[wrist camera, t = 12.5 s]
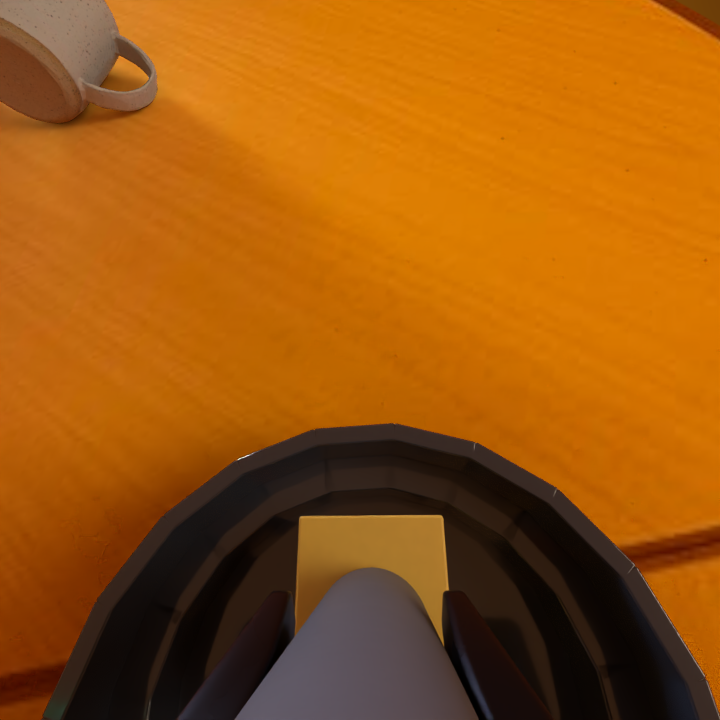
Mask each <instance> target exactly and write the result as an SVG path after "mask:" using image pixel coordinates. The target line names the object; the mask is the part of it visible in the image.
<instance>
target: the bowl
mask: <svg viewBox="0 0 720 720" xmlns="http://www.w3.org/2000/svg"><path fill="white" fill-rule="evenodd" d="M359 515H441V516H442V517H443V521H444V534H445V547H446V560H447V573H448V586H449V590H460V591H463V592H464V593H465V594H466V595H467V597H468V598H469V600H470V601H471V602H472V604H473V605H474V607H475V608H476V609H477V611H478V612H479V614H480V615H481V617H482V618H483V619H484V621H485V622H486V624H487V625H488V626H489V628H490V629H491V631H492V632H493V633H494V635H495V636H496V638H497V639H498V641H499V642H500V643H501V645H502V646H503V648H504V649H505V650H506V652H507V653H508V655H509V656H510V657H511V659H512V660H513V662H514V663H515V665H516V666H517V667H518V669H519V670H520V672H521V673H522V674H523V676H524V677H525V679H526V680H527V681H528V683H529V684H530V686H531V687H532V688H533V690H534V691H535V693H536V694H537V696H538V697H539V698H540V700H541V701H542V703H543V704H544V705H545V707H546V708H547V710H548V711H549V712H550V714H551V715H552V717H553V718H554V720H720V714H719V711H718V709H717V706H716V703H715V700H714V697H713V694H712V692H711V689H710V686H709V683H708V681H707V680H706V679H705V678H706V677H705V674H704V673H703V671H702V670H701V668H700V666H699V665H698V663H697V662H696V660H695V659H694V657H693V655H692V654H691V652H690V651H689V649H688V647H687V646H686V644H685V643H684V641H683V639H682V638H681V636H680V635H679V633H678V631H677V630H676V628H675V627H674V625H673V623H672V622H671V620H670V619H669V617H668V615H667V614H666V612H665V611H664V609H663V607H662V606H661V604H660V603H659V601H658V599H657V598H656V596H655V595H654V593H653V591H652V590H651V588H650V587H649V585H648V583H647V582H646V580H645V579H644V577H643V576H642V574H641V572H640V571H639V569H638V568H637V567H635V564H634V563H633V562H632V561H631V560H630V559H629V558H628V557H627V556H626V555H625V554H624V553H623V552H622V551H621V550H620V549H619V548H618V547H617V546H616V545H615V544H614V543H613V542H612V541H611V540H610V539H609V538H608V537H607V536H606V535H605V534H604V533H603V532H602V531H601V530H599V529H598V528H597V527H596V526H595V525H594V524H593V523H592V522H591V521H590V520H589V519H588V518H587V517H586V516H585V515H584V514H583V513H582V512H581V511H580V510H579V509H578V508H577V507H576V506H575V505H574V504H573V503H572V502H571V501H570V500H569V499H568V498H567V497H566V496H565V495H564V494H563V493H562V492H561V491H560V490H557V488H556V487H554V486H553V485H551V484H549V483H547V482H546V481H544V480H542V479H540V478H539V477H537V476H535V475H533V474H531V473H530V472H528V471H526V470H524V469H523V468H521V467H519V466H517V465H516V464H514V463H512V462H510V461H509V460H507V459H505V458H503V457H502V456H500V455H498V454H496V453H495V452H493V451H491V450H489V449H487V448H486V447H484V446H482V445H480V444H479V443H475V442H473V441H468V440H464V439H460V438H456V437H451V436H447V435H443V434H439V433H434V432H430V431H426V430H422V429H417V428H413V427H409V426H405V425H400V424H395V425H394V424H393V423H389V424H375V425H361V426H347V427H333V428H319V429H315V430H310V431H307V432H305V433H302V434H300V435H297V436H295V437H292V438H290V439H287V440H284V441H282V442H279V443H277V444H274V445H272V446H269V447H267V448H264V449H261V450H259V451H256V452H254V453H251V454H249V455H246V456H243V457H241V458H238V459H237V460H235V461H234V462H232V463H231V464H230V465H228V466H227V467H226V468H224V469H223V470H222V471H220V472H219V473H218V474H217V475H215V476H214V477H213V478H211V479H210V480H209V481H207V482H206V483H205V484H203V485H202V486H201V487H200V488H198V489H197V490H196V491H194V492H193V493H192V494H190V495H189V496H188V497H186V498H185V499H184V500H183V501H181V502H180V503H179V504H177V505H176V506H175V507H173V508H172V509H171V510H169V511H168V512H167V513H166V514H164V516H162V517H161V518H160V519H159V521H158V522H157V523H156V524H155V526H154V527H153V528H152V530H151V531H150V532H149V533H148V535H147V536H146V537H145V538H144V540H143V541H142V542H141V544H140V545H139V546H138V547H137V549H136V550H135V551H134V553H133V554H132V555H131V556H130V558H129V559H128V560H127V561H126V563H125V564H124V565H123V567H122V568H121V569H120V570H119V572H118V573H117V574H116V575H115V577H114V578H113V579H112V581H111V582H110V583H109V584H108V586H107V587H106V588H105V590H104V591H103V592H102V593H101V595H100V596H99V597H98V598H97V601H96V602H95V604H94V606H93V608H92V610H91V612H90V615H89V617H88V619H87V621H86V623H85V625H84V627H83V630H82V632H81V634H80V636H79V638H78V640H77V642H76V645H75V647H74V649H73V651H72V653H71V655H70V657H69V660H68V662H67V664H66V666H65V668H64V670H63V672H62V675H61V677H60V679H59V681H58V683H57V685H56V687H55V690H54V692H53V694H52V696H51V698H50V700H49V703H48V705H47V707H46V709H45V711H44V713H43V718H42V719H41V720H176V718H177V717H178V716H179V714H180V713H181V712H182V710H183V709H184V708H185V706H186V705H187V704H188V702H189V701H190V700H191V698H192V697H193V696H194V694H195V693H196V692H197V690H198V689H199V688H200V686H201V685H202V684H203V682H204V681H205V680H206V678H207V677H208V676H209V674H210V673H211V672H212V670H213V669H214V668H215V666H216V665H217V664H218V662H219V661H220V660H221V658H222V657H223V656H224V654H225V653H226V652H227V650H228V649H229V648H230V646H231V645H232V644H233V642H234V641H235V640H236V638H237V637H238V636H239V634H240V633H241V632H242V630H243V629H244V628H245V626H246V625H247V624H248V622H249V621H250V620H251V618H252V617H253V616H254V614H255V613H256V612H257V610H258V609H259V608H260V606H261V605H262V604H263V602H264V601H265V600H266V598H267V597H268V596H269V594H270V593H271V592H273V591H290V592H291V593H292V596H293V604H294V611H295V597H296V576H297V554H298V533H299V518H300V517H301V516H359Z"/></svg>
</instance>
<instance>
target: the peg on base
mask: <svg viewBox="0 0 720 720" xmlns="http://www.w3.org/2000/svg"><path fill="white" fill-rule="evenodd" d="M446 590H449V586H448V573H447V560H446V547H445V534H444V521H443V517H442V516H441V515H359V516H301V517H300V518H299V533H298V554H297V576H296V597H295V621H296V624H295V636H294V638H293V640H292V641H291V642H290V644H289V645H288V646H287V648H286V649H285V651H284V652H283V653H282V655H281V656H280V657H279V659H278V660H277V662H276V663H275V664H274V666H273V667H272V669H271V670H270V671H269V673H268V674H267V675H266V677H265V678H264V680H263V681H262V682H261V684H260V685H259V686H258V688H257V689H256V691H255V692H254V693H253V695H252V696H251V697H250V699H249V700H248V702H247V703H246V704H245V706H244V707H243V708H242V710H241V711H240V713H239V714H238V715H237V717H236V718H235V720H479V719H478V716H477V714H476V712H475V710H474V708H473V706H472V704H471V702H470V700H469V698H468V696H467V694H466V692H465V689H464V687H463V685H462V683H461V681H460V679H459V677H458V675H457V673H456V671H455V669H454V667H453V665H452V662H451V660H450V658H449V656H448V654H447V652H446V650H445V648H444V640H443V632H442V599H443V592H444V591H446Z"/></svg>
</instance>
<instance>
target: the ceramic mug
mask: <svg viewBox="0 0 720 720" xmlns="http://www.w3.org/2000/svg"><path fill="white" fill-rule="evenodd" d="M119 56H122V57H124V58H126V59H127V60H129V61H131V62H133V63H134V64H136V65H137V66H138V67H140V68H141V69H142V70H143V71H144V72H145V73H146V74H147V75H148V77H149V80H148V81H147V83H146V84H144V85H143V86H142V87H141V88H138V89H135V90H133V91H128V92H119V91H113V90H109V89H106V88H101V87H99V86H100V85H101V84H102V82H103V81H104V79H105V78H106V77H107V75H108V73H109V72H110V70H111V69H112V67H113V66H114V64H115V62H116V61H117V59H118V57H119ZM156 92H157V75H156V70H155V67H154V65H153V63H152V61H151V60H150V58H149V57H148V56H147V55H146V54H145V53H144V52H143V51H142V50H141V49H140V48H139V47H138V46H137V45H135V44H134V43H133V42H131V41H130V40H128V39H127V38H125V37H123V36H121V35H120V34H119V31H118V27H117V25H116V22H115V19H114V17H113V15H112V13H111V11H110V9H109V7H108V6H107V4H106V3H105V1H104V0H0V101H1V102H3V103H4V104H6V105H7V106H9V107H10V108H12V109H14V110H16V111H18V112H20V113H22V114H24V115H26V116H28V117H31V118H33V119H36V120H40V121H45V122H51V123H62V122H68V121H70V120H72V119H74V118H75V117H76V116H77V115H79V114H80V113H81V112H82V111H83V110H84V109H85V108H86V107H87V105H88V104H89V102H91V103H93V104H95V105H97V106H100V107H103V108H106V109H113V110H117V111H135V110H139V109H141V108H143V107H146V106H147V105H149V104H150V103H151V102H152V101H153V99H154V97H155V95H156Z"/></svg>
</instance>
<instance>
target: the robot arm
mask: <svg viewBox="0 0 720 720" xmlns="http://www.w3.org/2000/svg"><path fill="white" fill-rule="evenodd" d="M295 624H296V621H295V611H294V604H293V596H292V593H291V592H290V591H273V592H271V593H270V594H269V596H268V597H267V598H266V600H265V601H264V602H263V604H262V605H261V606H260V608H259V609H258V610H257V612H256V613H255V614H254V616H253V617H252V618H251V620H250V621H249V622H248V624H247V625H246V626H245V628H244V629H243V630H242V632H241V633H240V634H239V636H238V637H237V638H236V640H235V641H234V642H233V644H232V645H231V646H230V648H229V649H228V650H227V652H226V653H225V654H224V656H223V657H222V658H221V660H220V661H219V662H218V664H217V665H216V666H215V668H214V669H213V670H212V672H211V673H210V674H209V676H208V677H207V678H206V680H205V681H204V682H203V684H202V685H201V686H200V688H199V689H198V690H197V692H196V693H195V694H194V696H193V697H192V698H191V700H190V701H189V702H188V704H187V705H186V706H185V708H184V709H183V710H182V712H181V713H180V714H179V716H178V717H177V718H176V720H235V718H236V717H237V715H238V714H239V713H240V711H241V710H242V708H243V707H244V706H245V704H246V703H247V702H248V700H249V699H250V697H251V696H252V695H253V693H254V692H255V691H256V689H257V688H258V686H259V685H260V684H261V682H262V681H263V680H264V678H265V677H266V675H267V674H268V673H269V671H270V670H271V669H272V667H273V666H274V664H275V663H276V662H277V660H278V659H279V657H280V656H281V655H282V653H283V652H284V651H285V649H286V648H287V646H288V645H289V644H290V642H291V641H292V640H293V638H294V636H295ZM442 632H443V640H444V648H445V650H446V652H447V654H448V656H449V658H450V660H451V662H452V665H453V667H454V669H455V671H456V673H457V675H458V677H459V679H460V681H461V683H462V685H463V687H464V689H465V692H466V694H467V696H468V698H469V700H470V702H471V704H472V706H473V708H474V710H475V712H476V714H477V716H478V719H479V720H554V718H553V717H552V715H551V714H550V712H549V711H548V710H547V708H546V707H545V705H544V704H543V703H542V701H541V700H540V698H539V697H538V696H537V694H536V693H535V691H534V690H533V688H532V687H531V686H530V684H529V683H528V681H527V680H526V679H525V677H524V676H523V674H522V673H521V672H520V670H519V669H518V667H517V666H516V665H515V663H514V662H513V660H512V659H511V657H510V656H509V655H508V653H507V652H506V650H505V649H504V648H503V646H502V645H501V643H500V642H499V641H498V639H497V638H496V636H495V635H494V633H493V632H492V631H491V629H490V628H489V626H488V625H487V624H486V622H485V621H484V619H483V618H482V617H481V615H480V614H479V612H478V611H477V609H476V608H475V607H474V605H473V604H472V602H471V601H470V600H469V598H468V597H467V595H466V594H465V593H464V592H463V591H460V590H446V591H444V592H443V599H442Z"/></svg>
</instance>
